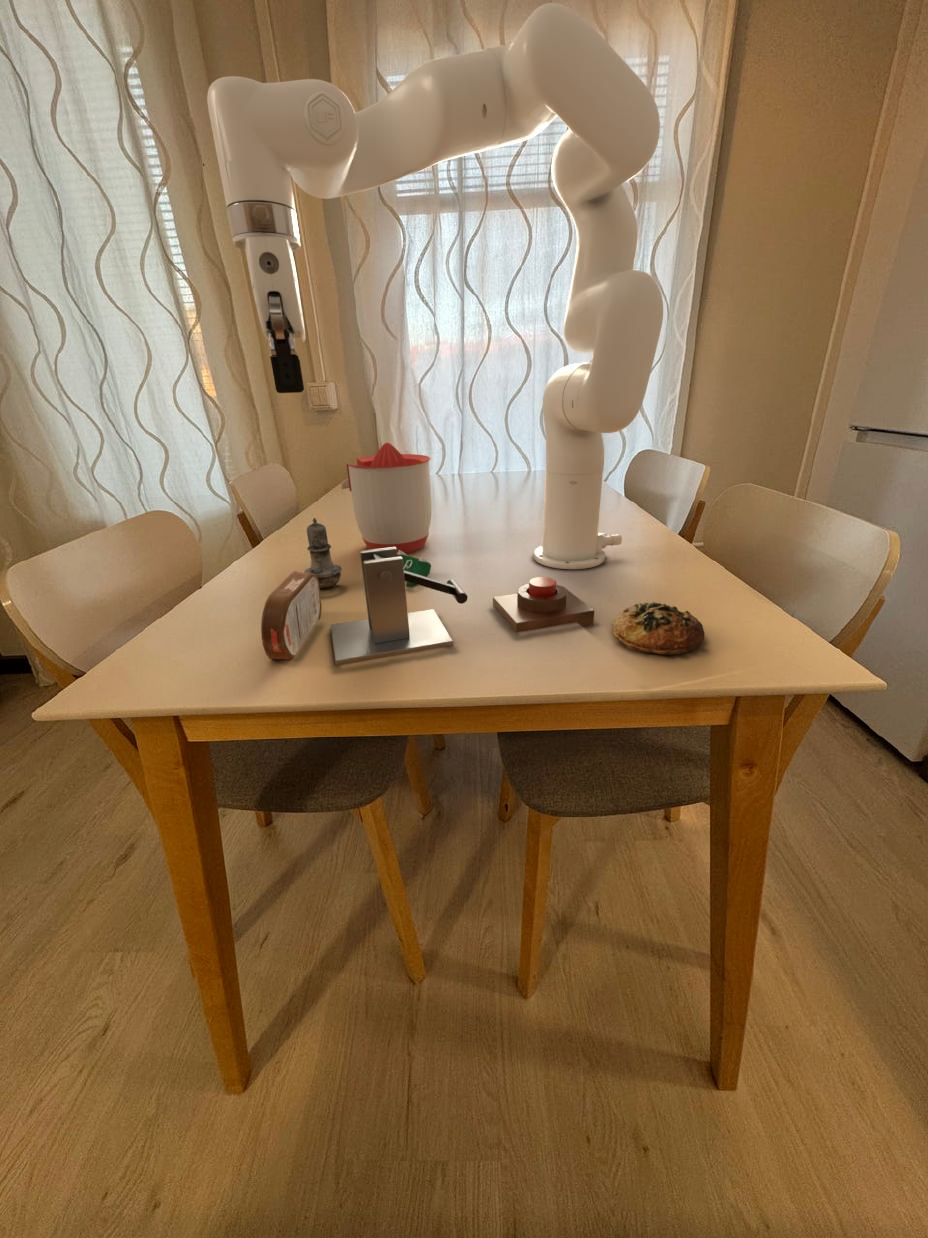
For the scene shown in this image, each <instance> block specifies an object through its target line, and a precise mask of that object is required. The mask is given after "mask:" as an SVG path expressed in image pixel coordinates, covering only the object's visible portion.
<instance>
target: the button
mask: <svg viewBox="0 0 928 1238" xmlns="http://www.w3.org/2000/svg"><path fill="white" fill-rule="evenodd" d="M528 584H529V595H532V596H535V597H552V596H554V595H556V584H557V581H556V580H555V579H554V578H551V577H547V576H538V577H533V578H531V579H529V580H528Z"/></svg>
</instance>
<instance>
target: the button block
mask: <svg viewBox="0 0 928 1238" xmlns="http://www.w3.org/2000/svg"><path fill="white" fill-rule="evenodd" d="M492 606H493V608H494V609H495V610H496V611H497V612H498V613H499V614H500V616H501V617H502V618H503V619H504V620H505V621H506V623H507V624H508V625H509V626H510V627H511V628H512V629H513V630H514V631H515V633H523V632H528V631H534V630H539V629H545V628H550V627H556V626H562V625H568V624H575V623H577V624H578V625H579V626H580V627H589V626H594V620H595V610H594V608H592V607H591V606H589V605H588V604H587V603H586V602H584V601H583V600H582V599H580V598H579V597H578V596H577V595H575V594H574V593H572V592H571V591H570V590H568V588H566V587H565V586H563V585H561V584H557V583H556V595H554V596H552V597H535V596H532V595H529V583H526V584H523V585H521V586H519V587H518V590H517V593H512V594H511V593H510V594H504V595H498V596H493V597H492Z"/></svg>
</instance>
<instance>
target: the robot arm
mask: <svg viewBox="0 0 928 1238" xmlns="http://www.w3.org/2000/svg"><path fill="white" fill-rule="evenodd" d="M206 102H207V103H206V104H207V109H208V115H209V121H210V126H211V132H212V136H213V142H214V147H215V153H216V158H217V162H218V168H219V174H220V179H221V184H222V191H223V195H224V201H225V206H226V212H227V217H228V223H229V227H230V232H231V234H230V235H231V239H232V243H233V246H234V247H235V248H237V249H239V250H242V251H245V255H246V262H247V267H248V272H249V277H250V282H251V288H252V293H253V297H254V302H255V307H256V311H257V315H258V319H259V322H260V327H261V331H262V334H263V337H264V338H265V339H266V340H267V341H268V342H269V348H270V353H271V356H269V357H270V364H271V370H272V376H273V382H274V386H275V387H274V388H275V391H276V393H278V394H295V393H303V391H305V386H304V380H303V372H302V366H301V365H302V364H301V359H299V355H298V352H297V346H296V338H297V339H298V338H299V339H300V343H304V342H305V341H306V339H307V337H306V329H305V321H304V314H303V308H302V301H301V300H302V299H301V295H300V286H299V280H298V274H297V268H296V263H295V259H294V253H293V252H297V251H299V250H301V248H302V247H301V246H302V245H301V239H300V233H299V231H300V230H299V226H298V225H299V224H298V218H297V212H296V204H295V197H294V190H293V183H292V180H293V181H294V182H295V184H296V185H297V186H298V187H299V189H301V190H302V191H303V192H305V194H307V195H309V196H311V197H313V198H317V199H324V200H330V199H335V198H341V197H344V196H345V197H346V196H349V195H353V194H358V193H361V192H366V191H369V190H372V189H375V188H379V187H381V186H384V185H387V184H390V183H392V182H395V181H397V180H400V179H403V178H405V177H407V176H410V175H413V174H415V173H416V174H417V173H418V172H419V173H420V172H422V171H424V170H427V169H429V168H431V167H433V166H435V165H437V164H439V163H441V162H445V161H449V160H453V159H456V158H461V157H465V156H469V155H472V154H476V153H481V152H486V151H488V150H490V151H491V150H493V149H497V148H502V147H506V146H511V145H514V144H518V143H521V142H525V141H528V140H531V139H532V138H534V137H535V136H538V134H540V133H541V132H543V130H545V129H546V128H547V127H548V126H550V124H551V123H552V122H553V121H554V120H555V119H556V118H557V117H558V118H559V119H560V120H561V122H562V123H563V124H564V125H565V126H566V127H567V128H568V129H567V130H566V132H565V133H564V134H563V135H562V137H560V140H558V142H557V144H556V147H555V148H554V151H553V154H552V155H553V156H552V158H551V178H552V183H553V185H554V188H555V191H556V193H557V195H558V196H559V198H560V200H561V201H562V202H563V204H564V206H565V207H566V209H567V210H568V212H569V214H570V216H571V218H572V221H573V224H574V227H575V232H576V251H575V257H574V265H573V269H572V270H573V271H572V277H571V283H570V288H569V293H568V298H567V303H566V310H565V316H564V322H563V333H564V339H565V341H566V343H567V345H568V346H569V348H570V349H571V350H573V351H575V352H577V353H580V354H586V355H592V358H591V362H579V363H572V364H567V365H565V366H563V367H561V368H560V369H558V370H556V371H555V373H553V375H552V376H551V377H550V378H549V380H548V381H547V383H546V384H545V385H546V386H545V388H544V391H543V397H542V415H543V423H544V424H543V425H544V432H545V470H544V471H545V472H544V473H545V474H544V495H543V496H544V498H543V523H542V524H543V527H542V529H543V530H542V545H540V546H538V547H537V548H535V549H534V551H533V559H534V560H535V561H536V563H538V564H540V565H542V566H545V567H548V568H554V569H559V570H584V569H590V568H595V567H597V566H599V565H601V564H603V563H604V562H605V559H606V558H605V557H606V554H605V551H604V550H603V549H605V548H607V546H610V547H613V546H619V545H621V544H622V543H623V542H622V541H623V537H622V535H621V534H620V533H617V534H615V533H614V534H609V535H608V533H607V532H599V525H600V511H601V499H602V487H603V476H604V475H603V474H604V473H603V472H604V469H605V468H604V467H605V446H604V439H603V435H602V434H614V433H617V432H620V431H622V430H624V429H626V428H627V427H628V426H630V424H632V423H633V421H634V420H635V419H636V418H637V415H638V414H639V411H640V410H641V407H642V405H643V402H644V400H645V396H646V394H647V393H646V392H647V389H648V385H649V381H650V376H651V372H652V368H653V364H654V361H655V356H656V352H657V348H658V344H659V339H660V336H661V331H662V327H663V319H664V300H663V294H662V291H661V288H660V286H659V284H658V282H657V280H656V279H655V278H654V277H653V276H652V275H651V274H650V273H648V272H646V271H644V270H640V269H635V263H636V257H637V251H638V245H639V224H638V219H637V216H636V212H635V209H634V207H633V204H632V202H631V200H630V198H629V196H628V194H627V191H626V190H625V188H624V185H623V184H625V183H626V182H629V181H630V180H632V179H633V178H634V177H636V176H637V175H638V174H640V173H641V172H642V171H643V170H644V169H645V168H646V166H647V165H648V164H649V163H650V162H651V160H652V158H653V156H654V154H655V152H656V149H657V147H658V144H659V139H660V135H661V133H660V131H661V121H660V113H659V109H658V105H657V103H656V101H655V98H654V95H653V94H652V93H651V91H650V89H649V88H648V87H647V86H646V84H645V83H644V81H643V80H642V79H641V78H640V77H639V76H638V75H637V73H636V72H635V71H634V70H633V69H632V68H631V67H630V66H629V65H628V63H626V61H625V60H624V59H623V58H622V57H621V56H620V54H618V53H617V51H616V50H615V49H614V48H613V47H612V46H611V44H609V42H608V41H607V40H606V39H605V38H604V37H603V36H602V35H601V34H600V33H599V32H598V31H597V30H596V29H595V28H594V27H593V26H592V25H591V24H590V23H589V22H588V21H587V20H585V19H584V18H583V16H581V15H580V14H579V13H577V12H576V11H574V10H572V9H571V8H570V7H567V6H565V5H563V4H560V3H556V2H549V3H543V4H542V5H539V6H538V7H536V8H535V9H534V11H532V13H531V14H530V15H529V16H528V17H527V19H526V20H525V22H524V23H523V24H522V26H521V27H520V29H519V30H518V32H517V33H516V34H515V36H514V37H513V38H512V39H511V40H510V41H509V42H508V43H506V44H503V45H502V44H501V45H498V46H493V47H488V48H485V49H480V50H475V51H469V52H465V53H462V54H453V55H449V56H445V57H437V58H433V59H429V60H427V61H425V62H423V63H422V64H420V65H419V66H417V67H416V68H414V69H413V70H412V71H411V72H410V73H408V74H407V75H406V76H405V77H404V78H403V79H402V80H401V81H400V82H399V83H397V85H396V86H395V87H394V88H393V89H392V90H391V91H390V92H389V93H387V94H386V95H385V96H383V98H381V99H380V100H377V102H375V103H373V104H371V105H370V106H368V107H366V108H363V109H361V110H359V111H355V108H354V107H353V105H352V103H351V101H350V99H349V97H348V96H347V95H346V94H345V93H344V92H343V90H341V89H340V88H339V87H337V86H336V85H335V84H333V83H331V82H329V81H326V80H323V79H317V78H305V79H295V80H288V81H277V82H261V81H258V80H255V79H253V78H249V77H245V76H236V75H229V76H223V77H220V78H217V79H216V80H214V81H213V82H212V83H211V84H210V85H209V87H208V90H207V95H206Z"/></svg>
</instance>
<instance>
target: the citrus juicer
mask: <svg viewBox="0 0 928 1238" xmlns="http://www.w3.org/2000/svg"><path fill="white" fill-rule="evenodd" d="M430 460H431V458H430V456H428V455H423V454H414V453H401V452H400V451H399V450H398V449H397V448H396V447H395V446H394V445H393V444H392V443H390V442H388V441H387V442H384V443H383V444H382V445H381V447H380V448H379V449H378V451H377V452H376V454H375V455H369V456H362V457H357V458H356V465H355V464H351V463H349V462H346V471H347V478H348V479H346V480H345V481H343V482H342V484H341V490H345V489H349V492H351V498H352V506H353V513H354V517H355V520H356V521H355V522H356V524H357V527H358V530H359V532H360V535H361V537H362V540H363V543H365V545H366V547H367V550H371V549H380V548H388V547H396V549H397V554H398V550H400V551H402V552H404V553H405V554H410V553H413V552H414V551H416V550H419V549H422V548H423V547H424V546H425V545H426V543H427V540H428V537H429V534H430V532H429V531H430V528H431V523H432V522H431V520H432V512H433V511H432V490H431V489H432V487H431V474H430V473H431V471H430Z"/></svg>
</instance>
